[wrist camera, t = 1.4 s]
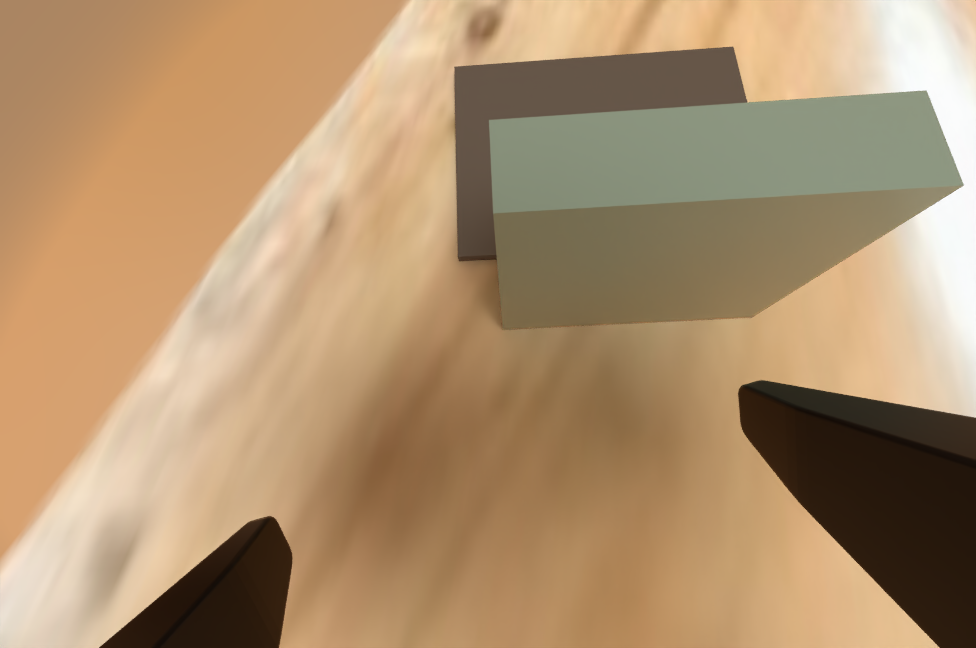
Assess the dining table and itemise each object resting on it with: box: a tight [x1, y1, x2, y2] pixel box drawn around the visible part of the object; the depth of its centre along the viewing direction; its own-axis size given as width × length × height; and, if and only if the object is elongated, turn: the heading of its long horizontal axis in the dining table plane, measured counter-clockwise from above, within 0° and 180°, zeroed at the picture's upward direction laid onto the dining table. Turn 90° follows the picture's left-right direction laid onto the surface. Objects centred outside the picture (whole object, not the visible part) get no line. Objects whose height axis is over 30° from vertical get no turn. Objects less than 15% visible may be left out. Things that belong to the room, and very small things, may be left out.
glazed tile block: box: [489, 91, 964, 330], centre depth 18 cm, size 3×12×11 cm, turn 92°
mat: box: [455, 47, 747, 261], centre depth 25 cm, size 12×16×1 cm
